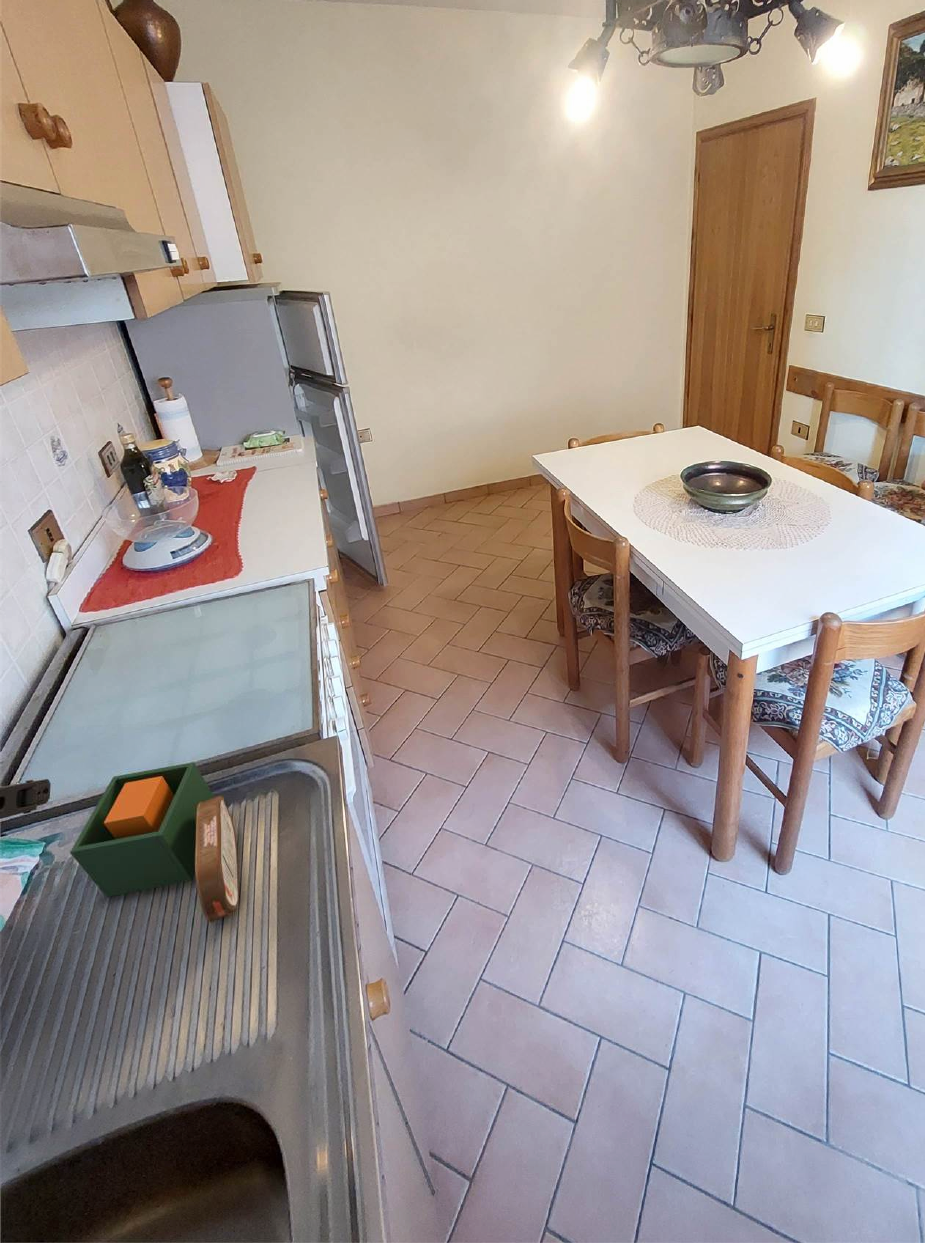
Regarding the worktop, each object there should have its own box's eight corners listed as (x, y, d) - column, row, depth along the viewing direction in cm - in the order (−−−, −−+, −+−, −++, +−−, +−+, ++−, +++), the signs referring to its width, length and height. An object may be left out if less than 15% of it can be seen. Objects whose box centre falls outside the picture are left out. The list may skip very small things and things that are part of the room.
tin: (215, 830, 79) (191, 790, 75) (240, 819, 80) (218, 779, 76) (216, 939, 67) (187, 899, 63) (245, 924, 68) (219, 883, 64)
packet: (139, 871, 74) (103, 823, 69) (157, 830, 79) (125, 783, 74) (176, 863, 75) (143, 815, 70) (192, 823, 80) (162, 775, 75)
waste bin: (106, 897, 72) (69, 852, 68) (144, 820, 81) (113, 776, 77) (192, 880, 73) (161, 835, 69) (219, 806, 82) (194, 761, 77)
